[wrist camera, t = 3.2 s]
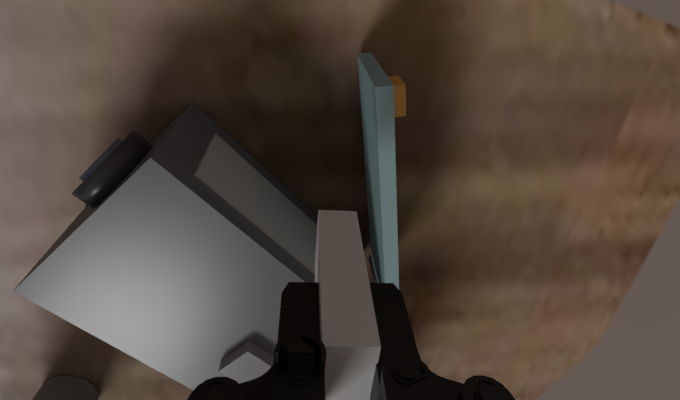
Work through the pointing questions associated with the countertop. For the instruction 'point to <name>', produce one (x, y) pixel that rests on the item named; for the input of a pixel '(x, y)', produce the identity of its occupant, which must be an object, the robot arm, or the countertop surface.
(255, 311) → the box
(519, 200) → the countertop surface
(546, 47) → the countertop surface
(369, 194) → the side door
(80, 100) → the countertop surface
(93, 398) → the cup
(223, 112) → the countertop surface
